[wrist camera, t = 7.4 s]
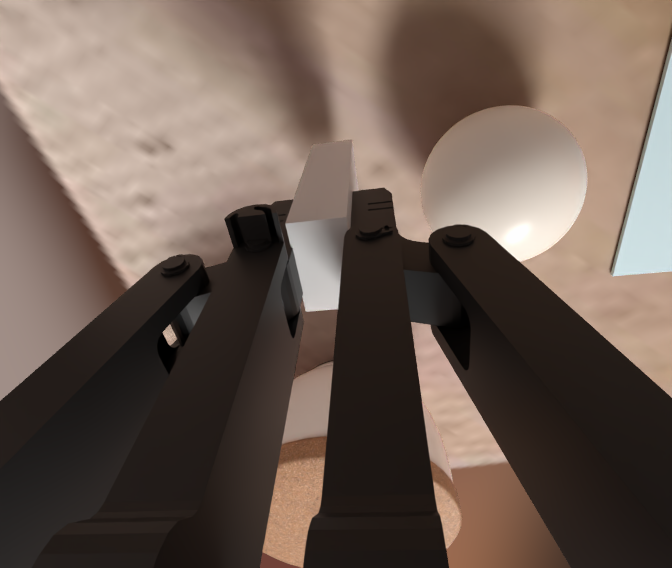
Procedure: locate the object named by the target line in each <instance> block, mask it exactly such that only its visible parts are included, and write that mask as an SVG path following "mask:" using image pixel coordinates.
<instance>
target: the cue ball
mask: <svg viewBox="0 0 672 568" xmlns="http://www.w3.org/2000/svg"><path fill="white" fill-rule="evenodd" d="M586 189H587V168H586V161H585V158H584V155H583V152H582V150H581V148H580V146H579V144H578V142H577V140H576V138H575V137H574V136H573V134H572V133H571V132H570V130H569V129H568V128H566V127H565V126H564V125H563V124H562V123H561V122H560V121H558V120H557V119H555V118H554V117H552V116H551V115H549V114H547V113H545V112H543V111H541V110H537V109H534V108H531V107H525V106H516V105H506V106H496V107H492V108H487V109H484V110H481V111H478V112H475V113H473V114H471V115H469V116H467V117H465V118H464V119H462V120H461V121H459V122H458V123H456V124H455V125H454V126H453V127H451V128H450V129H449V130H448V131H447V132H446V133H445V134H444V135H443V136H442V137H441V138H440V139H439V141H438V142H437V144H436V145H435V146H434V148H433V150H432V151H431V153H430V155H429V157H428V159H427V162H426V164H425V167H424V170H423V175H422V180H421V190H420V192H421V203H422V208H423V213H424V215H425V218H426V220H427V223H428V225H429V227H430V228H431V230H432V232H434V231H436V230H437V229H440V228H443V227H446V226H453V225H455V224H461V225H463V224H465V225H470V226H473V227H477V228H480V229H482V230H483V231H485V232H487V233H488V234H489V235H490V236H491V237H492V238H493V239H495V240H496V241H497V242H498V243H499V244H500V245H501V246H502V247H504V248H505V249H506V250H507V251H508V252H509V253H510V254H511V255H512V256H514V257H515V258H516V259H517V260H518V261H519V262H521V261H524V260H527V259H530V258H532V257H534V256H536V255H538V254H540V253H542V252H544V251H546V250H547V249H549V248H550V247H552V246H553V245H554V244H555V243H557V242H558V241H559V240H560V239H561V238H562V237H563V236H564V235H565V234H566V233H567V232H568V230H569V229H570V228H571V226H572V225H573V224H574V222H575V220H576V218H577V216H578V215H579V213H580V211H581V208H582V206H583V203H584V200H585V195H586Z"/></svg>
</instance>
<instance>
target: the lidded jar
mask: <svg viewBox="0 0 672 568" xmlns="http://www.w3.org/2000/svg"><path fill="white" fill-rule="evenodd" d="M332 372H333V361H331V362H327V363H324V364H322V365H319V366H317V367H316V368H314V369H313V370H311V371H309V372H306V373H304V374H302V375H300V376H299V377H297V378H295V379H294V380H293V385H292V390H291V396H290V401H289V407H288V412H287V418H286V424H285V429H284V435H283V440H282V446H281V451H280V457H279V463H278V468H277V474H276V479H275V485H274V490H273V496H272V502H271V507H270V513H269V518H268V524H267V529H266V535H265V541H264V546H263V552H264V553H266V554H268V555H270V556H272V557H274V558H276V559H278V560H281V561H283V562H286V563H288V564H292V565H295V566H299V567H302V568H303V563H304V554H305V546H306V540H307V534H308V529H309V526H310V522H311V519H312V517H314V516H315V515H317V514H318V513H319V509H320V505H321V498H322V487H323V475H324V464H325V452H326V441H327V429H328V418H329V406H330V395H331V383H332ZM422 406H423V413H424V420H425V427H426V435H427V442H428V449H429V456H430V463H431V470H432V478H433V485H434V492H435V499H436V505H437V510H438V513H439V514H440V517H441V522H442V527H443V532H444V539H445V545H446V549H447V548H448V547H449V546H450V544H451V543H452V542H453V541H454V539H455V538H456V536H457V534H458V532H459V530H460V528H461V522H462V514H461V508H460V503H459V498H458V493H457V490H456V488H455V486H454V484H453V480H452V475H451V469H450V465H449V461H448V456H447V452H446V449H445V446H444V443H443V440H442V437H441V434H440V432H439V430H438V428H437V426H436V424H435V421H434V419H433V417H432V415H431V413H430V412H429V410H428V409H427V407H426V406H425V405H424V403H423V402H422Z"/></svg>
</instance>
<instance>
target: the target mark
mask: <svg viewBox="0 0 672 568" xmlns="http://www.w3.org/2000/svg"><path fill="white" fill-rule="evenodd" d="M669 271H672V39H671V43H670V47H669V51H668V55H667V59H666V62H665V66H664V70H663V74H662V78H661V82H660V86H659V89H658V93H657V97H656V101H655V105H654V109H653V113H652V116H651V120H650V124H649V128H648V132H647V136H646V140H645V143H644V147H643V151H642V155H641V159H640V163H639V167H638V170H637V174H636V178H635V182H634V186H633V190H632V194H631V197H630V201H629V205H628V209H627V213H626V217H625V221H624V224H623V228H622V232H621V236H620V240H619V244H618V248H617V251H616V255H615V259H614V263H613V267H612V271H611V275H612V276H622V275H633V274H645V273H657V272H669Z"/></svg>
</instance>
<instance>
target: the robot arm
mask: <svg viewBox="0 0 672 568" xmlns="http://www.w3.org/2000/svg"><path fill="white" fill-rule="evenodd" d="M225 222H226V225H227V228H228V231H229V235H230V238H231V241H232V244H233V247H234V249H233V250H232V252H231V254H230V256H229V258H228V260H227V262H225V263H222V264H218V265H215V266H211V267H207V268H205V266H204V263H203V261H202V259H201V258H200V257H199V256H197V255H191V254H188V255H176V257H175V256H173V257H170V258H168V259H167V260H165V261H163V262H161V263H159V264H158V265H156V266H155V267H154V268H152V269H151V270H150V271H149V272H148V273H147V274H146V275H144V276H143V277H142V278H141V279H140V280H139V281H138V282H136V283H135V284H134V285H133V286H132V287H131V288H129V289H128V290H127V291H126V292H125V293H124V294H123V295H121V296H120V297H119V298H118V299H117V300H116V301H115V302H113V303H112V304H111V305H110V306H109V307H108V308H107V309H105V310H104V311H103V312H102V313H101V314H100V315H99V316H97V317H96V318H95V319H94V320H93V321H92V322H90V323H89V324H88V325H87V326H86V327H85V328H84V329H82V330H81V331H80V332H79V333H78V334H77V335H76V336H74V337H73V338H72V339H71V340H70V341H69V342H67V343H66V344H65V345H64V346H63V347H62V348H61V349H59V350H58V351H57V352H56V353H55V354H54V355H53V356H52V357H50V358H49V359H48V360H47V361H46V362H45V363H43V364H42V365H41V366H40V367H39V368H38V369H36V370H35V371H34V372H33V373H32V374H31V375H30V376H29V377H27V378H26V379H25V380H24V381H23V382H22V383H21V384H19V385H18V386H17V387H16V388H15V389H14V390H12V391H11V392H10V393H9V394H8V395H7V396H5V397H4V398H3V399H2V400H1V401H0V568H260V563H261V556H262V552H263V546H264V541H265V535H266V529H267V524H268V518H269V513H270V507H271V502H272V496H273V490H274V485H275V479H276V474H277V468H278V463H279V457H280V451H281V446H282V440H283V435H284V429H285V424H286V418H287V412H288V407H289V401H290V396H291V390H292V385H293V379H294V373H295V368H296V362H297V357H298V351H299V346H300V340H301V334H302V329H303V316H302V312H301V308H300V306H301V301H302V298H303V302H304V306H305V310H306V312H309V311H322V310H334V309H338V314H337V325H336V337H335V349H334V360H333V372H332V383H331V395H330V406H329V418H328V429H327V441H326V452H325V464H324V475H323V487H322V498H321V505H320V509H319V513H318V514H317V515H315V516H314V517H312V519H311V522H310V526H309V529H308V534H307V540H306V546H305V554H304V563H303V568H449V565H448V558H447V553H446V552H447V551H446V545H445V539H444V532H443V527H442V522H441V517H440V514H439V513H438V510H437V505H436V499H435V492H434V485H433V478H432V470H431V463H430V456H429V449H428V442H427V435H426V427H425V420H424V413H423V406H422V399H421V392H420V384H419V377H418V370H417V363H416V356H415V349H414V342H413V334H412V327H411V322H416V323H423V324H430V325H431V330H432V333H433V335H434V337H435V339H436V340H437V342H438V344H439V345H440V347H441V349H442V350H443V352H444V354H445V355H446V357H447V359H448V360H449V362H450V364H451V366H452V367H453V369H454V371H455V372H456V374H457V376H458V377H459V379H460V381H461V382H462V384H463V386H464V388H465V389H466V391H467V393H468V394H469V396H470V398H471V399H472V401H473V403H474V404H475V406H476V408H477V410H478V411H479V413H480V415H481V416H482V418H483V420H484V421H485V423H486V425H487V426H488V428H489V430H490V432H491V433H492V435H493V437H494V438H495V440H496V442H497V443H498V445H499V447H500V448H501V450H502V452H503V453H504V455H505V457H506V459H507V460H508V462H509V464H510V465H511V467H512V469H513V470H514V472H515V474H516V475H517V477H518V479H519V480H520V482H521V484H522V486H523V487H524V489H525V491H526V492H527V494H528V495H529V497H530V499H531V500H532V503H533V504H534V506H535V507H536V509H537V511H538V513H539V514H540V516H541V518H542V519H543V521H544V523H545V524H546V526H547V528H548V530H549V531H550V533H551V535H552V536H553V538H554V540H555V541H556V543H557V545H558V546H559V548H560V550H561V551H562V553H563V555H564V556H565V558H566V560H567V562H568V563H569V565H570V567H571V568H672V398H671V397H670V396H669V395H668V394H667V393H666V392H665V391H663V390H662V389H661V388H660V387H659V386H658V385H657V384H656V383H655V382H653V381H652V380H651V379H650V378H649V377H648V376H647V375H646V374H644V373H643V372H642V371H641V370H640V369H639V368H638V367H637V366H636V365H634V364H633V363H632V362H631V361H630V360H629V359H628V358H627V357H625V356H624V355H623V354H622V353H621V352H620V351H619V350H618V349H616V348H615V347H614V346H613V345H612V344H611V343H610V342H609V341H608V340H606V339H605V338H604V337H603V336H602V335H601V334H600V333H599V332H597V331H596V330H595V329H594V328H593V327H592V326H591V325H590V324H589V323H587V322H586V321H585V320H584V319H583V318H582V317H581V316H580V315H578V314H577V313H576V312H575V311H574V310H573V309H572V308H571V307H570V306H568V305H567V304H566V303H565V302H564V301H563V300H562V299H561V298H559V297H558V296H557V295H556V294H555V293H554V292H553V291H552V290H550V289H549V288H548V287H547V286H546V285H545V284H544V283H543V282H542V281H540V280H539V279H538V278H537V277H536V276H535V275H534V274H533V273H531V272H530V271H529V270H528V269H527V268H526V267H525V266H524V265H523V264H521V263H520V262H519V261H518V260H517V259H516V258H515V257H514V256H512V255H511V254H510V253H509V252H508V251H507V250H506V249H505V248H504V247H502V246H501V245H500V244H499V243H498V242H497V241H496V240H495V239H493V238H492V237H491V236H490V235H489V234H488V233H487V232H485V231H483V230H482V229H480V228H477V227H473V226H470V225H465V224H463V225H461V224H455V225H453V226H446V227H443V228H440V229H437V230H436V231H434V232H433V233H432V234H431V235H430V237H429V243H425V242H416V241H411V240H408V239H405V238H403V237H402V236H400V235H399V234H398V230H397V228H396V222H395V215H394V208H393V201H392V194H391V193H390V192H389V191H388V190H386V189H385V188H377V189H369V190H360V191H359V190H358V181H357V173H356V165H355V157H354V148H353V140H345V141H337V142H330V143H322V144H314V145H312V147H311V150H310V153H309V156H308V159H307V162H306V165H305V168H304V171H303V173H302V176H301V179H300V182H299V185H298V188H297V191H296V194H295V197H294V200H285V201H277V202H274V203H273V204H272V205H266V204H260V205H252V206H246V207H243V208H241V209H238V210H236V211H234V212H232V213H230V214H229V215H228V216H227V217H226V218H225ZM169 324H170V325H171V327H172V329H173V331H174V333H175V335H176V337H177V340H176V341H175V342H174V343H173V344H172V345H171V346H170V345H169V344H168V343H167V341H166V339H165V337H164V335H163V333H162V332H163V331H164V330H165V329H166V328H167V327H168V325H169Z"/></svg>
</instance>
